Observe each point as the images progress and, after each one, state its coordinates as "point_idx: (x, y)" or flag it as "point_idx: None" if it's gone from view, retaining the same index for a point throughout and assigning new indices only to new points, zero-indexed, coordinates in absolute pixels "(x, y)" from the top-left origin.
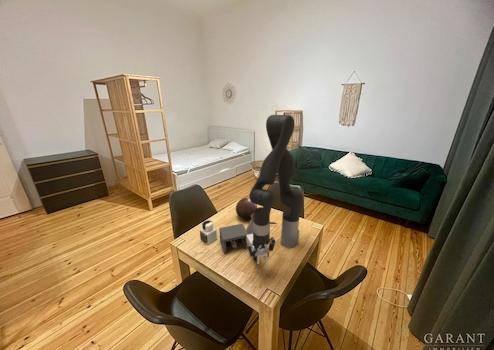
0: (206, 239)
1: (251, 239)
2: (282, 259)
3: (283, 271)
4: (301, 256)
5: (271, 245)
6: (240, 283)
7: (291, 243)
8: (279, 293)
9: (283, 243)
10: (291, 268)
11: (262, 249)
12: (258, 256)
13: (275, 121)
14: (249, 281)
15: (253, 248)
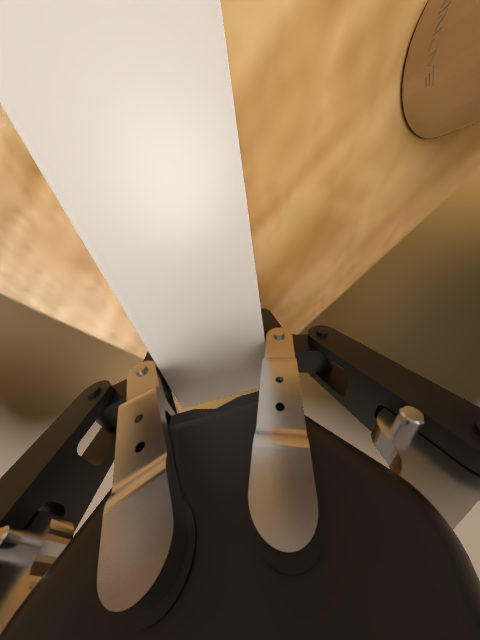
0: None
1: (44, 50)
2: (330, 231)
3: (300, 300)
4: (414, 225)
5: (351, 403)
6: (119, 343)
7: (471, 120)
8: None
9: (425, 81)
10: (335, 288)
11: (238, 346)
12: (189, 401)
13: None
14: None
15: (134, 321)
